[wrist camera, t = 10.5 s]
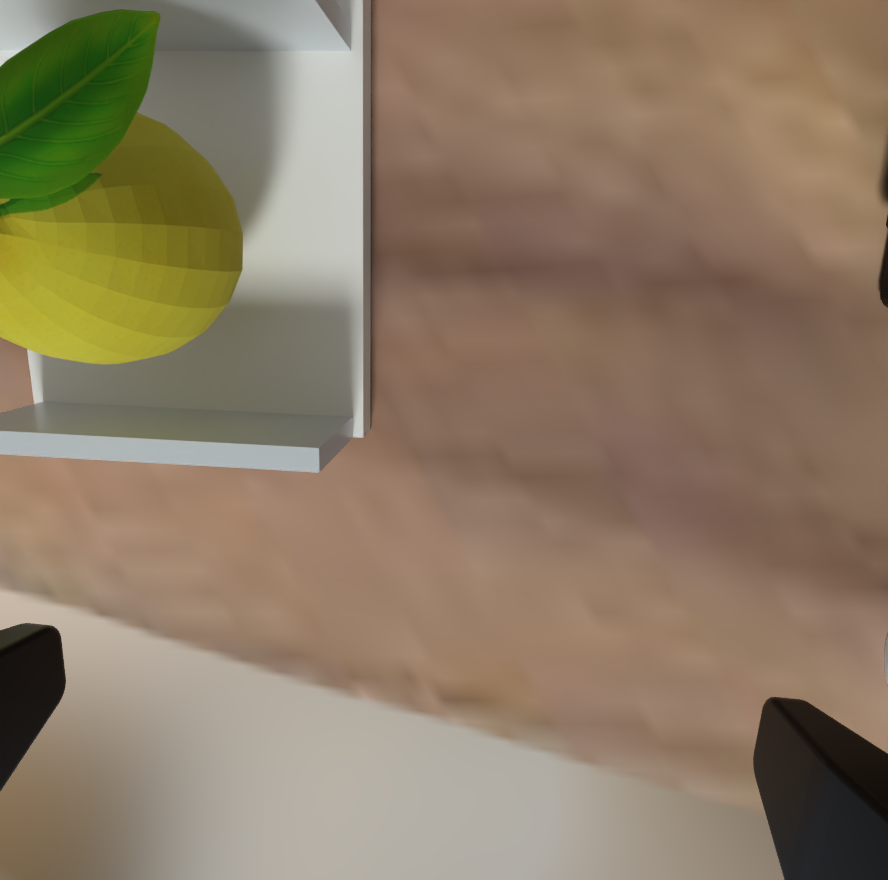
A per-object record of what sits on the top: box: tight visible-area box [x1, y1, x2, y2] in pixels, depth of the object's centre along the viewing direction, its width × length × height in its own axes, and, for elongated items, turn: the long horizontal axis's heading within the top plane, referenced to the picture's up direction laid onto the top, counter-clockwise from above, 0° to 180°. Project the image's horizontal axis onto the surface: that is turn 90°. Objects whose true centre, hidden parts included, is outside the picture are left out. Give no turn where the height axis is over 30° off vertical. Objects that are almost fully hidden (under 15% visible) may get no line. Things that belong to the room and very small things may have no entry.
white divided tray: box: [0, 0, 371, 472], centre depth 16 cm, size 10×21×4 cm, turn 178°
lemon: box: [0, 9, 243, 364], centre depth 13 cm, size 7×6×10 cm
